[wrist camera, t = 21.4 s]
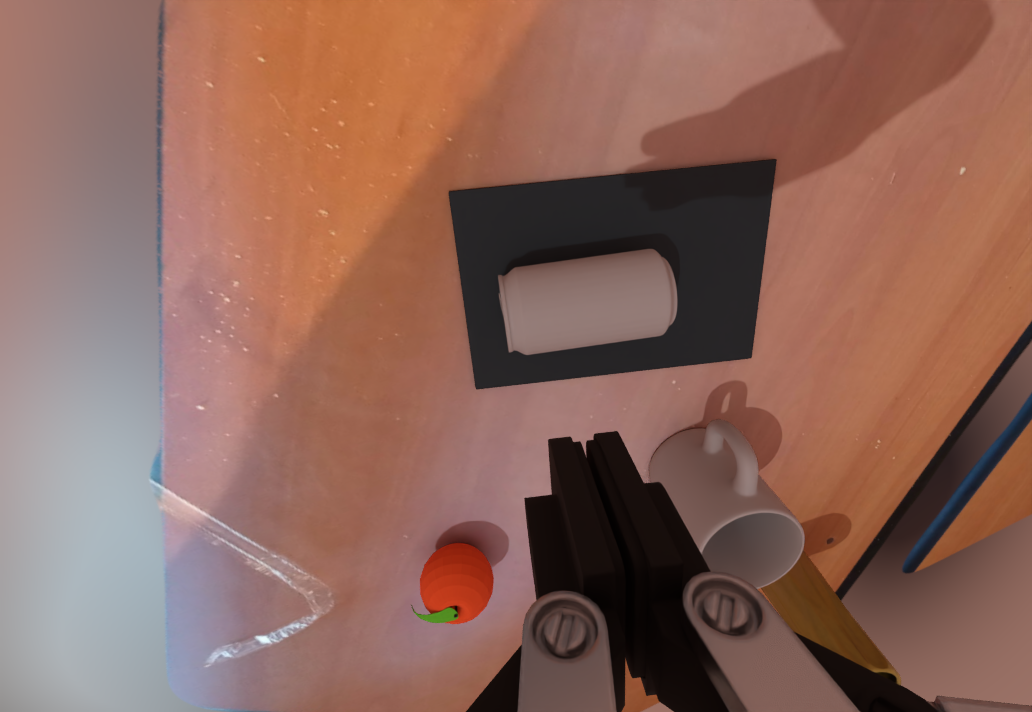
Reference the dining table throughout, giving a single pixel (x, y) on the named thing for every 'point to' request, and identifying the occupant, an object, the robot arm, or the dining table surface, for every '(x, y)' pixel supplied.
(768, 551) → the mug
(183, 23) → the dining table surface
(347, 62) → the dining table surface
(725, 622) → the robot arm
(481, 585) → the clementine
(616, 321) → the beverage can
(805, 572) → the vase
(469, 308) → the mat
